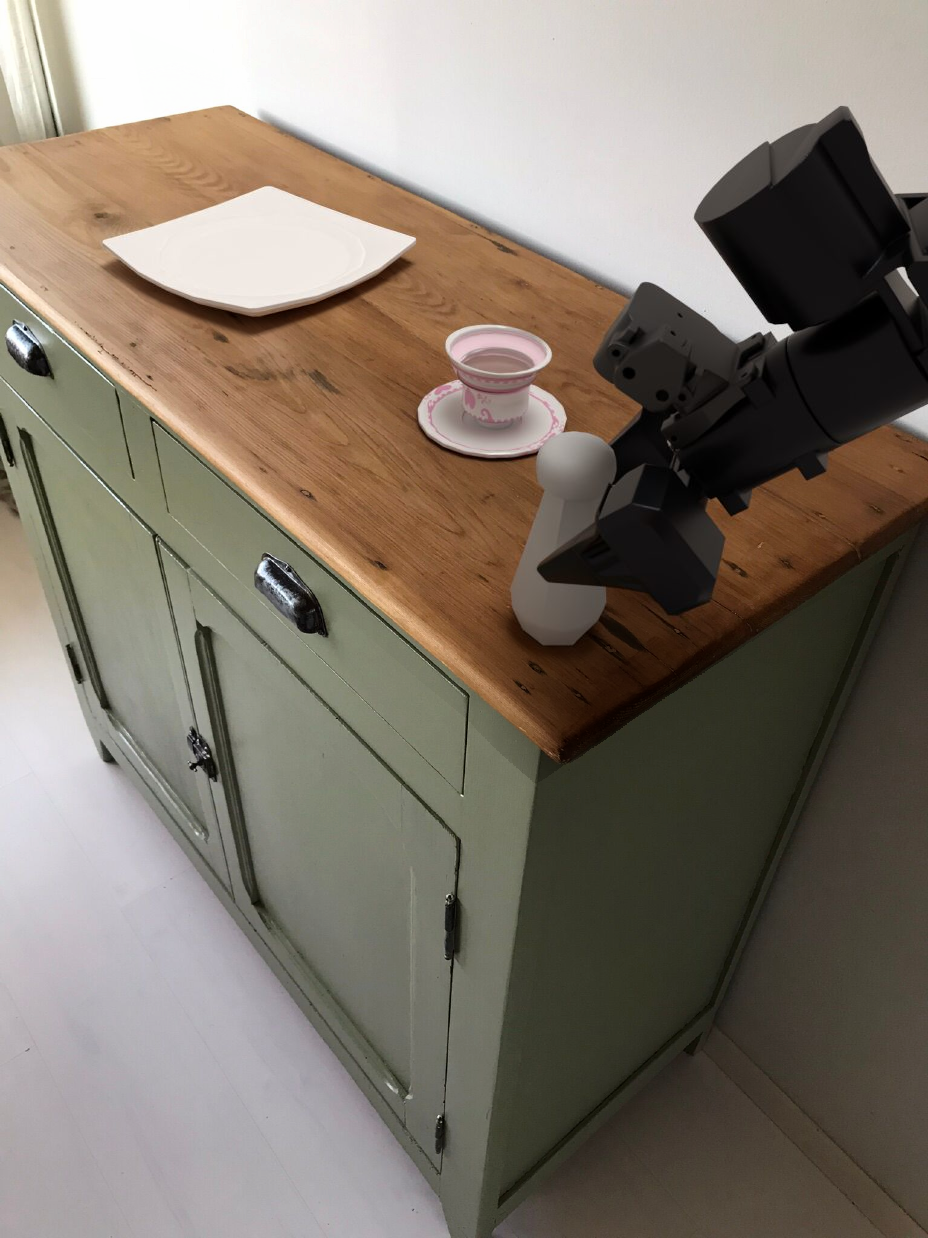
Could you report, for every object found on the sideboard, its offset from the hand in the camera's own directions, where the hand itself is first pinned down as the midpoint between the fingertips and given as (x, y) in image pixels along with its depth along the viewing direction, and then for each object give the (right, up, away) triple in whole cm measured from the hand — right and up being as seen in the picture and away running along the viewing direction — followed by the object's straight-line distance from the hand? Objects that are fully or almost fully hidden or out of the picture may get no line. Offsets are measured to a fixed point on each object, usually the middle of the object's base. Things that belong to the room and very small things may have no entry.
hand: (563, 525), depth 54 cm
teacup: (-3, +11, +23) cm, 25 cm away
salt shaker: (0, -6, +5) cm, 8 cm away
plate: (-26, +30, +43) cm, 59 cm away
